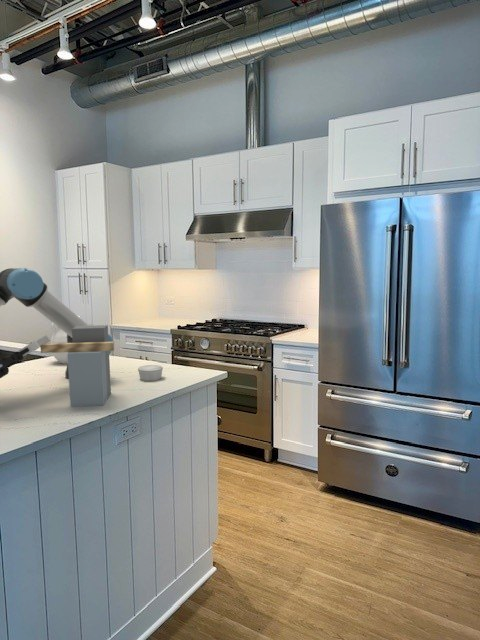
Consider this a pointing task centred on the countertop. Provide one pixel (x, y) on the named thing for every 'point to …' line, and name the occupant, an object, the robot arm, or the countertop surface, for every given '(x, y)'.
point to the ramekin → (150, 372)
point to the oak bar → (77, 347)
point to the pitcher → (60, 337)
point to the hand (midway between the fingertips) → (43, 340)
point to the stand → (89, 368)
